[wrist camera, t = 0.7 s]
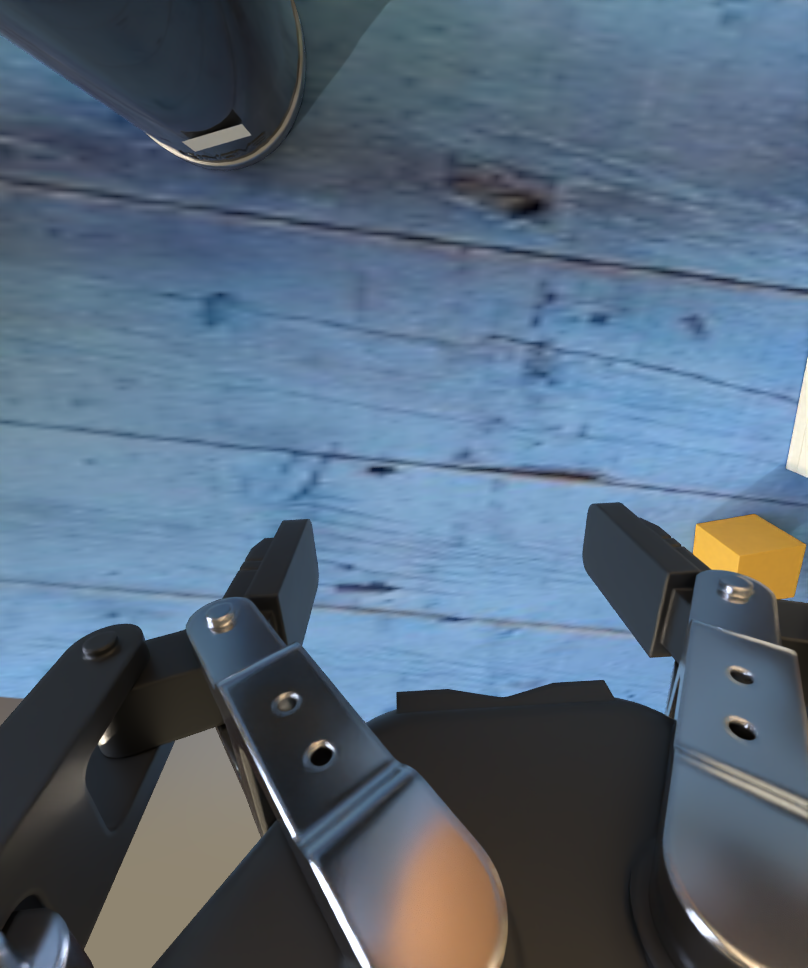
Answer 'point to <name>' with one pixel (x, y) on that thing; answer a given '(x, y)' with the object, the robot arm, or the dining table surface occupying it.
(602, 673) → the dining table surface
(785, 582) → the block
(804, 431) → the cream rectangular box
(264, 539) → the robot arm
